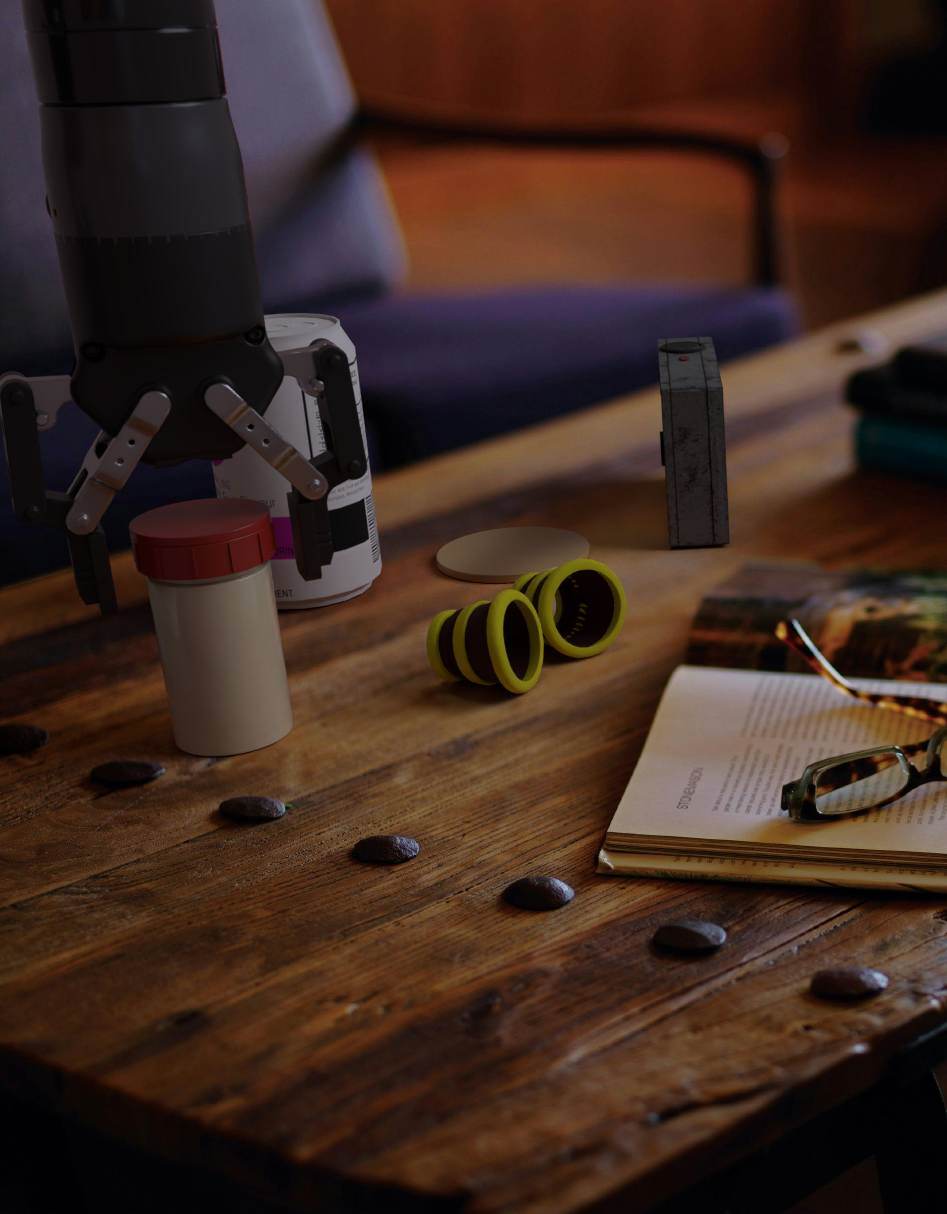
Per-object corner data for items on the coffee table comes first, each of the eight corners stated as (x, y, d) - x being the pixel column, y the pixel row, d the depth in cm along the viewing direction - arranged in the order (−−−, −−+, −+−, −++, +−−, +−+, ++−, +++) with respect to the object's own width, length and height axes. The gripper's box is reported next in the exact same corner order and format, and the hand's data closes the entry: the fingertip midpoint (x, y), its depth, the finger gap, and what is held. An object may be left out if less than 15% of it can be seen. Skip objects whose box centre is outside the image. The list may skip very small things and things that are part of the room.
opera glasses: (561, 640, 86) (540, 550, 85) (638, 639, 83) (616, 546, 82) (431, 706, 79) (406, 608, 77) (511, 708, 76) (485, 606, 75)
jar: (161, 760, 72) (123, 555, 69) (191, 712, 77) (158, 517, 73) (281, 752, 72) (250, 548, 69) (304, 705, 77) (275, 512, 74)
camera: (662, 475, 113) (654, 331, 109) (719, 472, 113) (712, 329, 110) (666, 550, 97) (656, 386, 94) (732, 546, 98) (725, 383, 94)
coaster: (428, 587, 92) (427, 578, 92) (445, 537, 101) (445, 530, 101) (587, 578, 93) (587, 570, 93) (592, 530, 101) (591, 522, 101)
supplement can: (252, 624, 87) (209, 347, 82) (221, 580, 94) (179, 322, 89) (400, 595, 91) (368, 328, 86) (360, 555, 98) (328, 306, 93)
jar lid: (246, 580, 69) (239, 537, 68) (111, 580, 69) (104, 538, 68) (295, 537, 74) (289, 497, 73) (170, 537, 75) (163, 497, 74)
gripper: (-38, 243, 60) (44, 651, 65) (351, 213, 66) (395, 588, 72) (-46, 221, 66) (29, 596, 72) (310, 196, 72) (353, 543, 78)
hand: (212, 592), depth 72 cm, fingers open, 8 cm apart
